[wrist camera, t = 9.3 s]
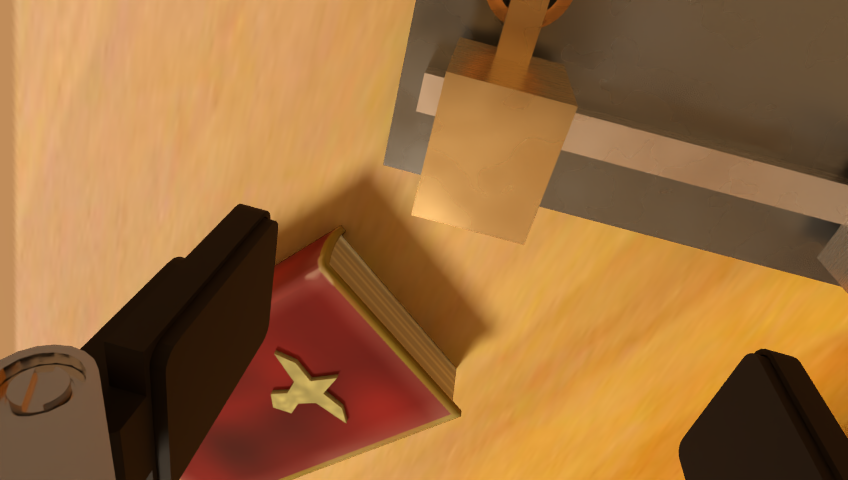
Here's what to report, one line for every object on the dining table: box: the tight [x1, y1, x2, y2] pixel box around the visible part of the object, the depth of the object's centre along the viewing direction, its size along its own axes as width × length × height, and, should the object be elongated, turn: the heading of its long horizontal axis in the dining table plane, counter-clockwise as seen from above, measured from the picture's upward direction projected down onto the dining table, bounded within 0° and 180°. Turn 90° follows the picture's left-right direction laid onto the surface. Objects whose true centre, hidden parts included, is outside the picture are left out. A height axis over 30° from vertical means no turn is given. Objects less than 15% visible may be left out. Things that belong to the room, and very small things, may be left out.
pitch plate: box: [383, 0, 848, 293], centre depth 19 cm, size 24×14×8 cm, turn 77°
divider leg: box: [411, 0, 578, 245], centre depth 19 cm, size 4×8×6 cm, turn 167°
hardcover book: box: [179, 226, 461, 480], centre depth 33 cm, size 12×21×4 cm, turn 126°
